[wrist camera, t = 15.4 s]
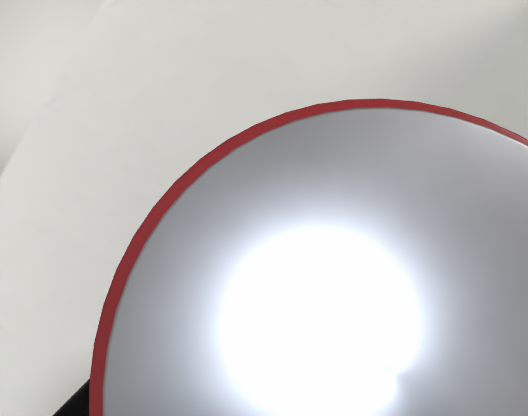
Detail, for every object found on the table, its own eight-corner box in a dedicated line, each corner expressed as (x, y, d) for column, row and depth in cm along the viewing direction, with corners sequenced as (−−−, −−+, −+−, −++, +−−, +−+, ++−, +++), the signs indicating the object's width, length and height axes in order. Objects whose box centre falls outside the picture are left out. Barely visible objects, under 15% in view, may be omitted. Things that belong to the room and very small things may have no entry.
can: (402, 385, 15) (952, 757, 3) (253, 414, 16) (89, 916, 3) (362, 238, 17) (582, 34, 4) (228, 265, 17) (57, 142, 4)
